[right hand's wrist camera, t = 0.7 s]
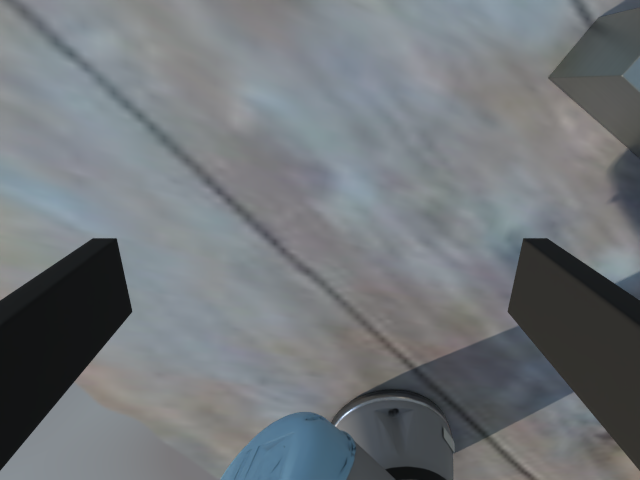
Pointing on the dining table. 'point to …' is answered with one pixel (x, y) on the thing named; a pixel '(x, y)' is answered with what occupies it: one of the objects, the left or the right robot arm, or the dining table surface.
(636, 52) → the bar
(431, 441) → the left robot arm
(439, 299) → the dining table surface
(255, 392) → the dining table surface
